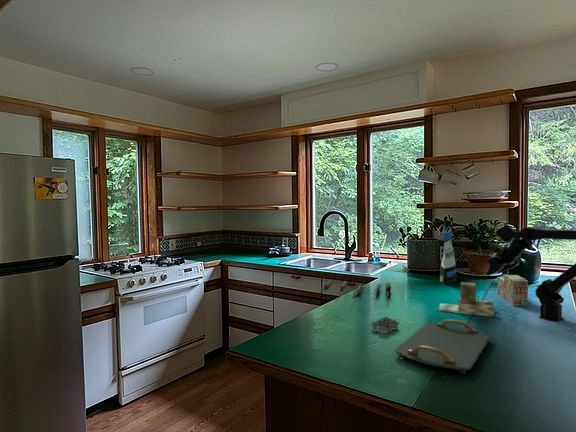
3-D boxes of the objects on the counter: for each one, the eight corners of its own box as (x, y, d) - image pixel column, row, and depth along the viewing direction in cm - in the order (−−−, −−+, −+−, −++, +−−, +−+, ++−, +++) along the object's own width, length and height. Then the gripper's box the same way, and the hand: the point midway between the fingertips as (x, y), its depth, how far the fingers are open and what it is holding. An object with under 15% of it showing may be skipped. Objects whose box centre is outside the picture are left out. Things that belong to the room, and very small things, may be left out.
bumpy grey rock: (383, 336, 141) (383, 325, 141) (368, 330, 147) (368, 320, 147) (401, 329, 147) (401, 319, 147) (386, 324, 153) (386, 314, 153)
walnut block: (475, 306, 169) (475, 282, 169) (476, 310, 164) (475, 285, 163) (460, 305, 172) (460, 282, 171) (461, 309, 166) (460, 284, 166)
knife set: (317, 300, 187) (317, 284, 187) (329, 288, 219) (329, 275, 219) (389, 306, 177) (389, 290, 177) (391, 292, 208) (391, 278, 208)
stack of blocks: (497, 294, 195) (497, 271, 194) (510, 294, 194) (510, 271, 193) (513, 306, 174) (513, 280, 173) (528, 306, 173) (528, 280, 172)
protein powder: (435, 283, 222) (435, 233, 221) (444, 276, 242) (443, 230, 241) (453, 285, 217) (452, 233, 215) (459, 277, 237) (459, 230, 236)
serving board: (428, 327, 149) (428, 312, 149) (494, 340, 135) (494, 323, 134) (389, 362, 119) (389, 343, 118) (468, 383, 104) (468, 361, 104)
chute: (492, 310, 168) (492, 301, 168) (494, 316, 159) (494, 307, 159) (439, 305, 177) (439, 297, 177) (439, 311, 168) (439, 302, 168)
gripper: (510, 236, 176) (489, 259, 185) (489, 239, 166) (468, 263, 174) (530, 252, 169) (508, 276, 178) (509, 257, 159) (487, 281, 167)
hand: (492, 274), depth 175 cm, fingers open, 9 cm apart
